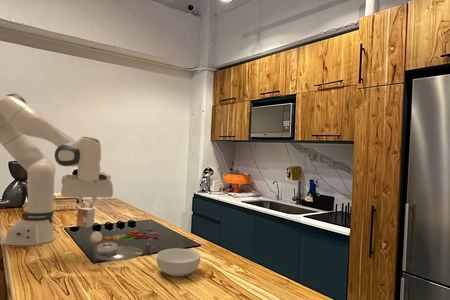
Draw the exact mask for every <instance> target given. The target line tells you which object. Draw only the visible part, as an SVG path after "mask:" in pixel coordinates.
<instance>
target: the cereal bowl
mask: <svg viewBox="0 0 450 300" xmlns="http://www.w3.org/2000/svg"><path fill="white" fill-rule="evenodd" d="M200 260H201V254H200V253H199V252H197V251H194V250H192V249H187V248H180V247H179V248H176V247H175V248H167V249H163V250H160V251H158V252H157V254H156V265H157V267H158V268H159V270H160V271H162V272H163V273H165V274H167V275H168V276H170V277H185V276H187V275H188V274H190V273H193V272H195V270H197V268H198V267H199V265H200V262H201V261H200Z"/></svg>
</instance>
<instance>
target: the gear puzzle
mask: <svg viewBox="0 0 450 300" xmlns="http://www.w3.org/2000/svg"><path fill="white" fill-rule="evenodd" d="M155 239H162V236H161V234H160V233H158V232H157V231H155V230H153V228H152V227H149V228H148V229H143V230H140V231H139V230H135V229H134V230H130V231H129V232H127V233H126V234H116V235H113V236H104V237H102V241H129V240H131V241H132V240H135V241H137V240H155Z"/></svg>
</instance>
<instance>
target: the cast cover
mask: <svg viewBox="0 0 450 300" xmlns="http://www.w3.org/2000/svg"><path fill="white" fill-rule="evenodd" d="M117 246H118V244H117V243H116V242H113V241H111V240H105V241H103V242H102V243H101V242H99V244H97V255H99V256H111V255H115V254H116V253H117Z"/></svg>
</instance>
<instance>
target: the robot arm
mask: <svg viewBox="0 0 450 300" xmlns="http://www.w3.org/2000/svg"><path fill="white" fill-rule="evenodd" d="M31 138H37V139H42V140H44V141H48V142H50V143H51V144H53V145H55V146H56V147H57V148H56V149H55V151H54V159H55V162H56V163H57V164H58V165H60V166H63V167H77V174H65V175H64V176H62V178H61V185H62V186H61V190H60V191H61V193H60V195H61V196H62V197H63V198H78V202H79V204H80V208H85V207H86V203H85V202H83V198H92V202H90V203H89V205H88V208H94V204H95V203H96V201H97V198H108V199H109V198H112V197H113V195H114V187H113V182H112V181H111V178H112V176H111V174H109V173H106V172H104V171H101V165H100V163H101V160H102V145H101V142H100V140H99V139H97V138H93V137H88V136H82V137H80V138H79V139H77V140H74V139H72V138H71V137H69V136H68V135H67V134H65V133H64V132H62V131H61V130H59V129H58V128H57V127H55V126H54V125H53V124H52V123H50V122H49V121H48V120H47V119H46V118H45V117H44V116H43V115H41V114H40V113H39V112H38V111H36V109H34V108H33V107H32V106H30V105H29V104H28V103H27V101H26V100H25V98H24V97H22V96H21V95H19V94H17V93H9V94H6V95H4V96H2V97H0V144H1V146H2V147H3V148H4V149H5V151H7V153H8V154H9V155H10V156H11V157H12V158H13V160H14V161H16V162H17V163H18V164H19V165H20V166H21V167H23V169H24V171H26V172H27V204H26V210H25V211H23V213H22V214H21V216H20V217H21V218H22V219H21V220H19V221H17V222H16V223H15V224H13V225H12V226H11V227H9V228H8V230H7V232H6V236H5V237H3V238H2V239H0V245H3V246H32V247H33V246H37V245H41V244H46V243H49V242H52V241H54V240H56V236H55V232H54V231H55V230H54V220H55V212H54V197H55V196H54V195H55V175H56V167H55V164H54V163H53V162H52V161H51V160H50V159H49V158H48V157H47V155H45V153H44V152H43V151H42V150H41V149H40V148H39V147H38V146H37V144H36V143H35V142H34V141H33V140H32V139H31Z"/></svg>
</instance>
